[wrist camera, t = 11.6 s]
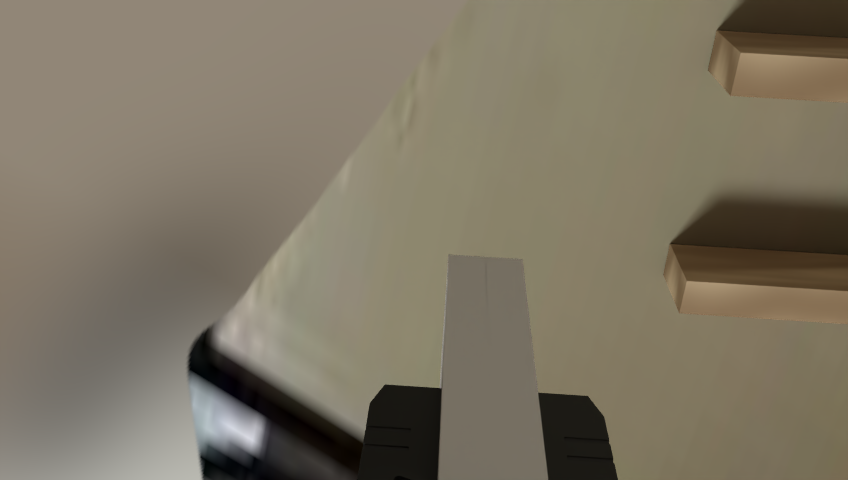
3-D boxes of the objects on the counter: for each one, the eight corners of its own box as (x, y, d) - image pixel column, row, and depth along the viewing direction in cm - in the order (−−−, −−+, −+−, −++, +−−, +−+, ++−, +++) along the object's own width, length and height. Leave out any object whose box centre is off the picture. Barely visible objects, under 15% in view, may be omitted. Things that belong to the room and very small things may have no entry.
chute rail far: (670, 243, 45) (686, 281, 42) (885, 257, 45) (920, 296, 42) (663, 274, 46) (679, 313, 43) (874, 287, 46) (907, 327, 43)
